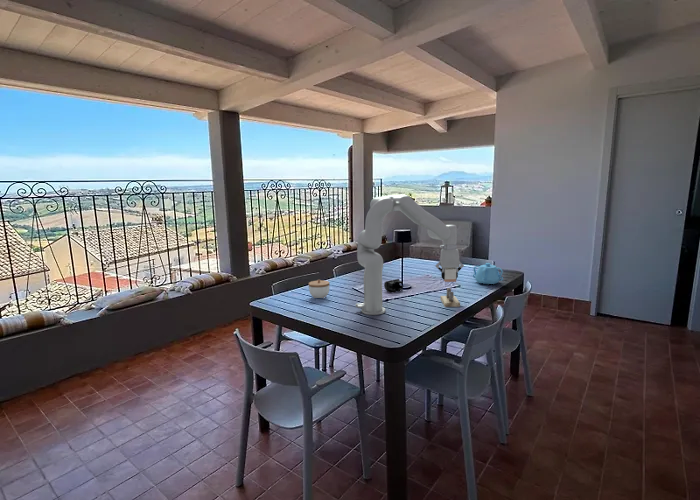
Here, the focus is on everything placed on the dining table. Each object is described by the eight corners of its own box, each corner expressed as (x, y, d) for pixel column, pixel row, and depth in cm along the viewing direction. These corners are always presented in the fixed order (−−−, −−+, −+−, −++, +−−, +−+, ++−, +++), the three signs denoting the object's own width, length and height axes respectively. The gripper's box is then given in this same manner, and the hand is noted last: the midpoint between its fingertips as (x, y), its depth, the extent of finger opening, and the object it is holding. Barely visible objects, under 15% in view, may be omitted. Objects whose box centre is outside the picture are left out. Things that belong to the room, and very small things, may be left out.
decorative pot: (470, 280, 251) (471, 261, 249) (493, 279, 252) (494, 260, 249) (480, 286, 235) (480, 266, 233) (504, 285, 235) (505, 265, 233)
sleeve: (445, 282, 201) (445, 269, 200) (443, 279, 207) (443, 267, 206) (456, 281, 201) (456, 269, 200) (453, 279, 207) (453, 267, 205)
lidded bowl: (327, 300, 213) (326, 282, 211) (306, 300, 215) (305, 281, 214) (332, 294, 225) (331, 277, 223) (312, 294, 228) (312, 277, 226)
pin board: (444, 306, 195) (444, 294, 194) (440, 299, 209) (440, 287, 208) (459, 306, 195) (460, 293, 194) (454, 299, 209) (454, 287, 207)
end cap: (396, 288, 237) (395, 278, 236) (403, 290, 231) (403, 280, 230) (384, 290, 231) (383, 280, 230) (391, 293, 226) (391, 282, 225)
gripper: (434, 248, 198) (434, 281, 201) (467, 247, 196) (466, 280, 199) (432, 246, 205) (432, 277, 208) (464, 245, 204) (463, 277, 207)
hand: (449, 278), depth 204 cm, fingers closed on sleeve, 6 cm apart
